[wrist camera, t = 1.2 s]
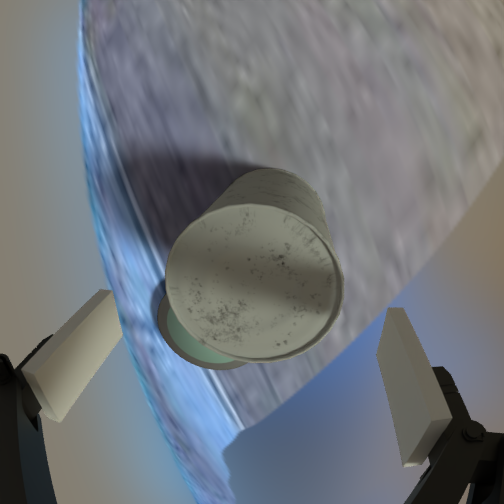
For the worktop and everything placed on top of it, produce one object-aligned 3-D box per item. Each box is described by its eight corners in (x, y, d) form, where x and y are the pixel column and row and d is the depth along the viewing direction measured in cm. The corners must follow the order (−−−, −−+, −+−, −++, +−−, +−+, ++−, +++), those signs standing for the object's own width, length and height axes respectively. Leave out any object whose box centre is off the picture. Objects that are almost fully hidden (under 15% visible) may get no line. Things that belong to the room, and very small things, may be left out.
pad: (242, 259, 30) (240, 267, 28) (280, 351, 33) (279, 361, 32) (145, 288, 32) (138, 295, 31) (189, 367, 36) (185, 376, 34)
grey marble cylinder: (203, 182, 27) (140, 226, 16) (313, 157, 25) (329, 185, 14) (232, 280, 31) (196, 368, 19) (333, 263, 29) (352, 351, 17)
